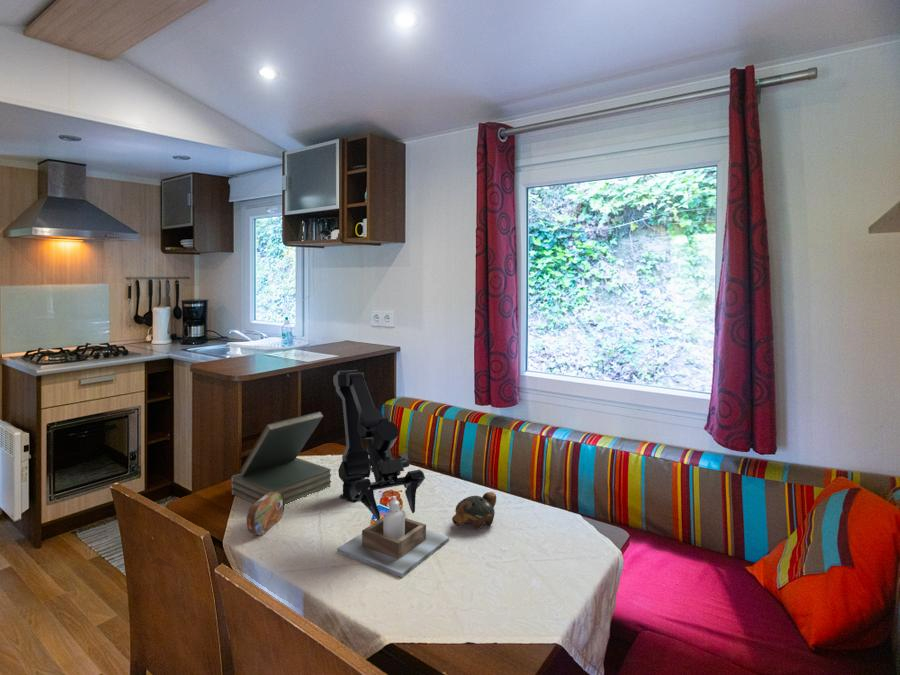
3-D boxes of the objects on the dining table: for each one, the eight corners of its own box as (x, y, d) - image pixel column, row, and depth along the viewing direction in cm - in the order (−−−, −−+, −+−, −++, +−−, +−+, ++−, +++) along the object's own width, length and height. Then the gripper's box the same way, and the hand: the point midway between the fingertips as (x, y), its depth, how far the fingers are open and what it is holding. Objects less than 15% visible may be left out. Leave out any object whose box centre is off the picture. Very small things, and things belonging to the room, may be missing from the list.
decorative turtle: (506, 521, 146) (507, 494, 144) (469, 542, 135) (469, 514, 134) (480, 508, 152) (481, 482, 151) (443, 527, 142) (443, 500, 140)
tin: (255, 541, 132) (255, 509, 131) (244, 540, 133) (243, 508, 132) (285, 515, 147) (285, 486, 146) (275, 514, 147) (275, 485, 146)
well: (388, 520, 144) (388, 503, 144) (449, 540, 134) (449, 522, 133) (337, 552, 127) (336, 532, 127) (402, 577, 117) (402, 556, 116)
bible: (293, 473, 179) (292, 402, 176) (331, 487, 167) (331, 412, 165) (231, 495, 160) (229, 416, 158) (269, 512, 149) (268, 427, 146)
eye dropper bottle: (381, 539, 132) (381, 494, 131) (403, 536, 133) (403, 492, 132) (384, 548, 128) (384, 501, 126) (406, 545, 129) (407, 499, 128)
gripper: (353, 449, 127) (368, 510, 118) (422, 439, 136) (441, 495, 127) (344, 470, 135) (357, 528, 126) (410, 459, 143) (426, 513, 135)
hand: (396, 516), depth 128 cm, fingers open, 9 cm apart
